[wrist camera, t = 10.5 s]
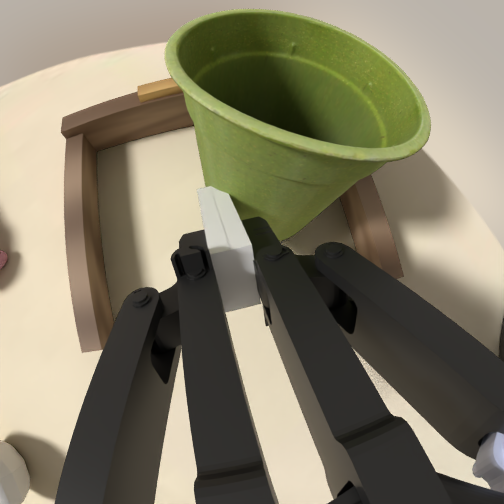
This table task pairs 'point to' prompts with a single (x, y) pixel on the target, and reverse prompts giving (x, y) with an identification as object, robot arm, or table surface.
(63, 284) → the table surface
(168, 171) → the table surface
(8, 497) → the apple
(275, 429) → the table surface
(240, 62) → the plant pot
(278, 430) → the table surface
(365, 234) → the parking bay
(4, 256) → the video game controller
